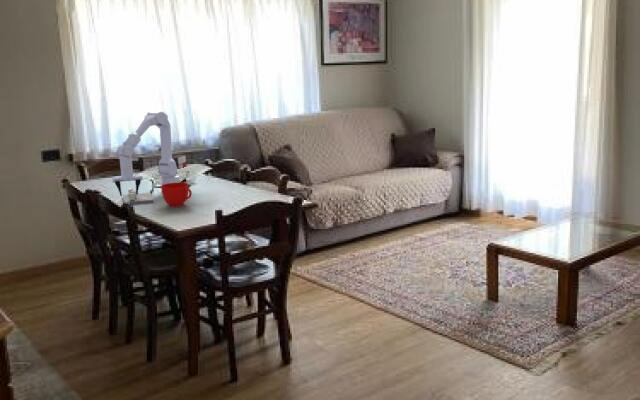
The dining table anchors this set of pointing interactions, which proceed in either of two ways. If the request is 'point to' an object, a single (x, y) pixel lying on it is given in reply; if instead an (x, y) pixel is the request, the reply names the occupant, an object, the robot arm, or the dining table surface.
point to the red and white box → (180, 161)
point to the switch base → (139, 198)
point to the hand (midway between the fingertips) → (129, 195)
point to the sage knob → (132, 196)
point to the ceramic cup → (175, 193)
